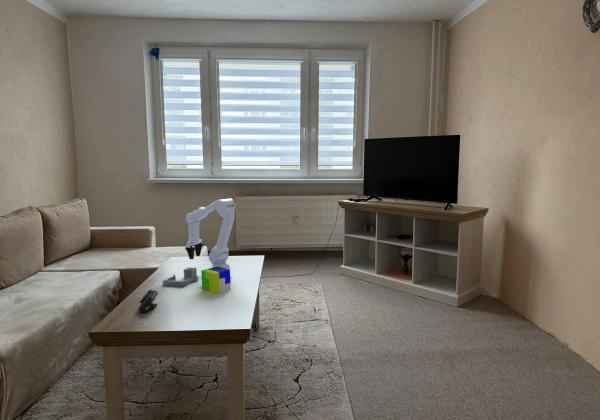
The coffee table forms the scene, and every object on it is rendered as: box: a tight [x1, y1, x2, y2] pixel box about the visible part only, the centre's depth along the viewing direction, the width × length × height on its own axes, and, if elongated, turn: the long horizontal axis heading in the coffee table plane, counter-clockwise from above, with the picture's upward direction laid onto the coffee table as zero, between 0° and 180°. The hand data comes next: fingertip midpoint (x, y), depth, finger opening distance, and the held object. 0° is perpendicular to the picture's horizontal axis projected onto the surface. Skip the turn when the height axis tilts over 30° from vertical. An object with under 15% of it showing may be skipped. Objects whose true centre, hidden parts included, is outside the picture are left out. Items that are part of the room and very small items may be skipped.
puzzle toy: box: [200, 267, 232, 295], centre depth 206 cm, size 10×10×10 cm
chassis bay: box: [162, 274, 199, 288], centre depth 218 cm, size 13×15×3 cm
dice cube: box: [183, 266, 198, 280], centre depth 229 cm, size 5×5×5 cm
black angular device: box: [137, 289, 159, 314], centre depth 179 cm, size 12×8×7 cm
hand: (194, 257), depth 235 cm, fingers open, 7 cm apart
